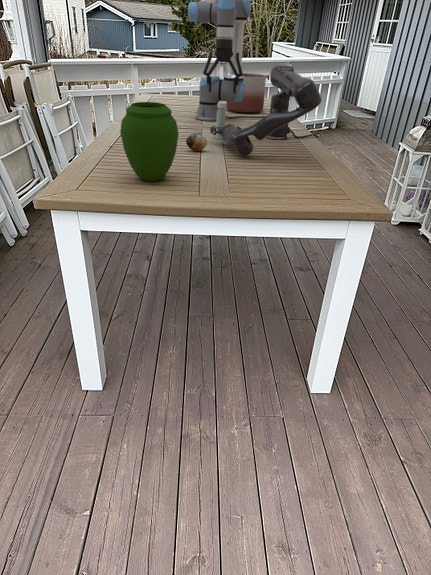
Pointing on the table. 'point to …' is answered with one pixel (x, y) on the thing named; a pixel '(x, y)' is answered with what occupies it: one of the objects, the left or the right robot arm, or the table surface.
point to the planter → (250, 95)
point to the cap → (221, 105)
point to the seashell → (196, 141)
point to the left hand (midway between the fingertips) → (222, 92)
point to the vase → (149, 139)
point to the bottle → (220, 120)
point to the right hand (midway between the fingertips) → (222, 127)
